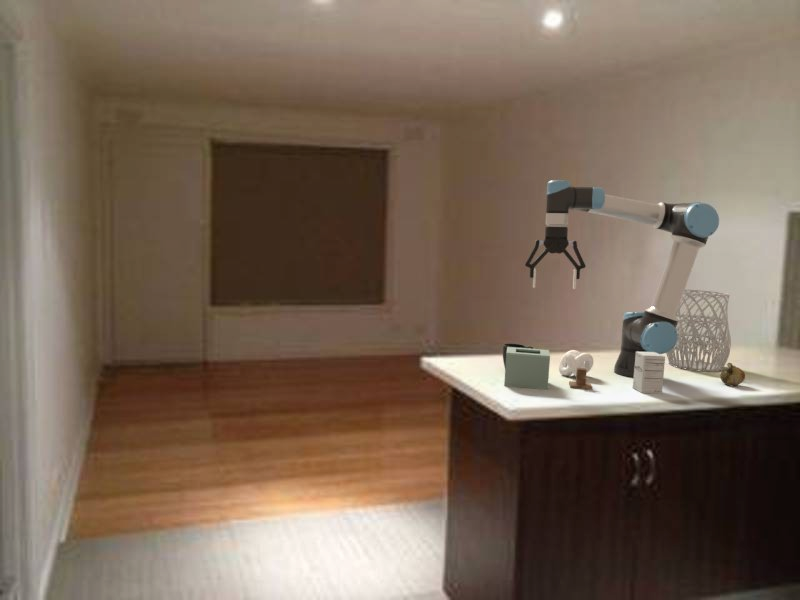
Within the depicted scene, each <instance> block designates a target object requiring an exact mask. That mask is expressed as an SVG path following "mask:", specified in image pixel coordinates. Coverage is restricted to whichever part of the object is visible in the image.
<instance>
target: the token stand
mask: <svg viewBox="0 0 800 600" xmlns="http://www.w3.org/2000/svg"><path fill="white" fill-rule="evenodd" d="M586 372H587V370H586V368H577V371H576V376H575V381H574V380H569V381H568V384H569V387H570V388H571V389H579V390H580V389H581V390H593V386H592V383H591V382H587V373H588V372H587V373H586Z"/></svg>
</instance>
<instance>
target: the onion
mask: <svg viewBox="0 0 800 600" xmlns="http://www.w3.org/2000/svg"><path fill="white" fill-rule="evenodd" d="M726 365H727V366H724V367H723V366H722V367H721V369H722V370H721V372H720V376H719V378H720V380H721V381H722V382H721V383H723V384H725V385H726V384H728V385H727V386H730V385H736V386H738V385H740V384H742V383H743V382H744V381H745V378H746V374H745V371H744V370H743V369H741V368H739V367H738V366H736V365H735V364H734V365H733V363H731V362H727V363H726Z"/></svg>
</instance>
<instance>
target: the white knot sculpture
mask: <svg viewBox="0 0 800 600" xmlns="http://www.w3.org/2000/svg"><path fill="white" fill-rule="evenodd" d="M593 366H594V357H593V356H592V355H591V354H590V353H587V352H583V353H581V352H580V351H578V350H577V349H576V350H575V349H570V350H568V351H567V352H565V353H564V354H563V355H562V356H561V358H560V360H559V362H558V372H559V373H560V374H561V375H562V376H564V377H569V376H571V375H574V376H575V377H576V371H577V368H586V370H587V372H586V374H587V373H589V372H590V371H591V370H592V368H593Z"/></svg>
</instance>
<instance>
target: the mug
mask: <svg viewBox="0 0 800 600" xmlns="http://www.w3.org/2000/svg"><path fill="white" fill-rule="evenodd" d="M507 347H516V348H529V349H534V347H533V346H530V345H529V346H528V345H527V346H526V345H525V344H521V343H503V345H502V361H503V366H504V368H505V367H506V352H507Z"/></svg>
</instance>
